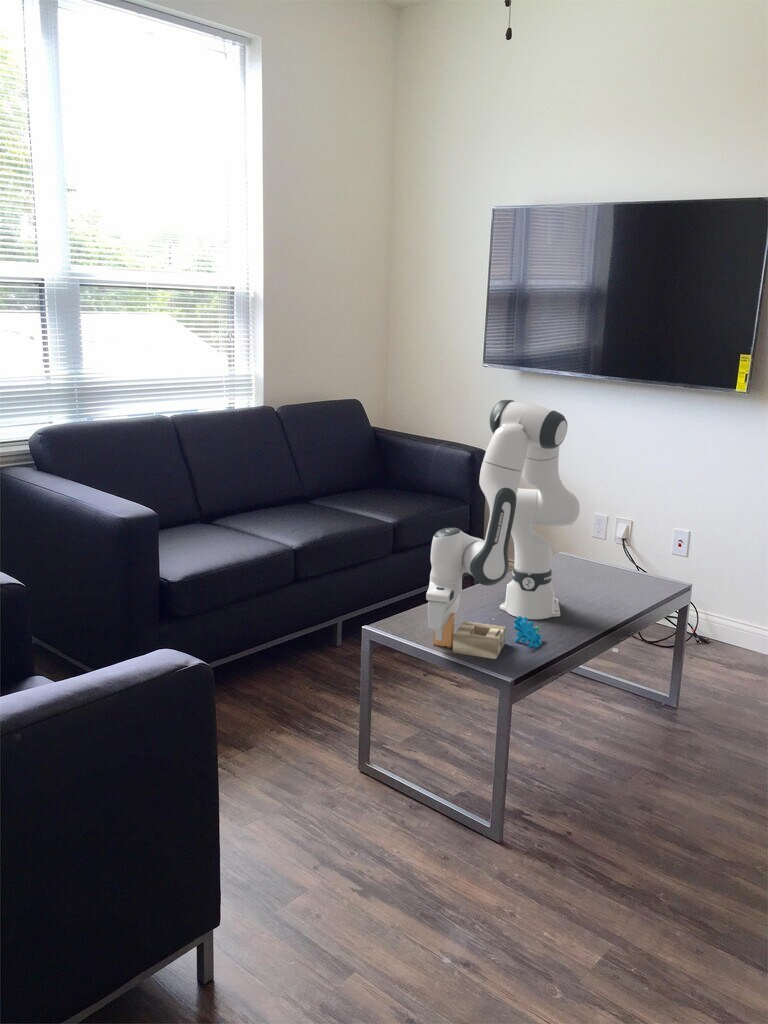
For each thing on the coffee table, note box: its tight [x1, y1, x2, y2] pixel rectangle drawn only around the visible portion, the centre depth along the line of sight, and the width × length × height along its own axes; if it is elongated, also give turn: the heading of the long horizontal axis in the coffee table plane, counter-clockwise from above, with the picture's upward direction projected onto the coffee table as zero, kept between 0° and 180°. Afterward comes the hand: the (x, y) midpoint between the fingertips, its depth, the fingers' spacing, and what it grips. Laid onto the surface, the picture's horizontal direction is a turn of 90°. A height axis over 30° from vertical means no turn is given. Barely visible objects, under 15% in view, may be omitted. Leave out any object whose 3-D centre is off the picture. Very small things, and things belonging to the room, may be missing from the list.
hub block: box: [452, 620, 507, 660], centre depth 239 cm, size 12×12×5 cm
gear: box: [513, 616, 543, 649], centre depth 244 cm, size 11×6×10 cm
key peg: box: [432, 612, 456, 648], centre depth 241 cm, size 3×5×9 cm, turn 71°
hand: (443, 633), depth 241 cm, fingers open, 8 cm apart
